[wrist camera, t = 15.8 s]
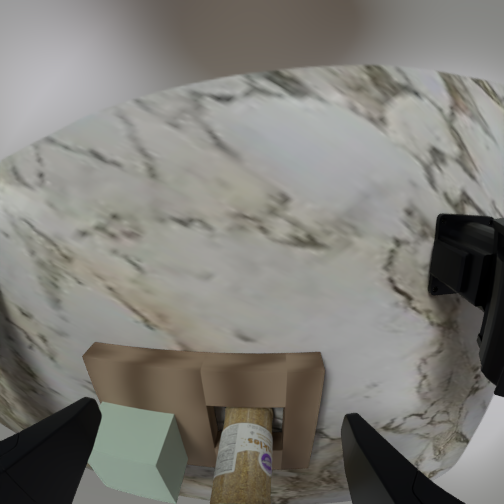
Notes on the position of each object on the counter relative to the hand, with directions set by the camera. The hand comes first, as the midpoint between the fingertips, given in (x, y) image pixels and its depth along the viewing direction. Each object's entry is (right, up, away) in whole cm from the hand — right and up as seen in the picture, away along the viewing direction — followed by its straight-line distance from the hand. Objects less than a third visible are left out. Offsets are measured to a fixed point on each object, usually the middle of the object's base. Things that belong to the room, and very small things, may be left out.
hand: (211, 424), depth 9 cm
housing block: (-9, -12, +15) cm, 21 cm away
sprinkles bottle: (+1, -9, +16) cm, 18 cm away
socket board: (-3, -9, +16) cm, 19 cm away
